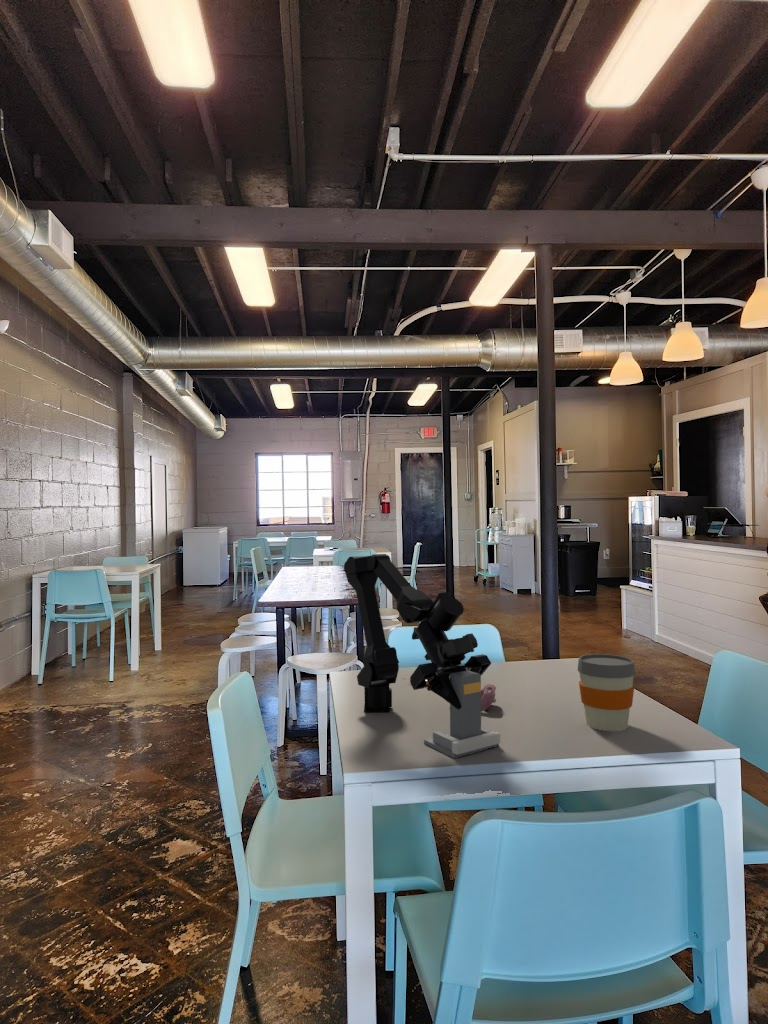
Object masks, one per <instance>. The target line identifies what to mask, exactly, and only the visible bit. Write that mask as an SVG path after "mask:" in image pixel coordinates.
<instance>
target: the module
mask: <svg viewBox="0 0 768 1024" xmlns="http://www.w3.org/2000/svg"><path fill="white" fill-rule="evenodd" d="M481 679H482V675H481V674H478V673H475V672H472V671H468V670H467V671H462V672H456V673H450V683H451V685H452V687H453V689H454V691H455V693H456V695H457V697H458V699H459V701H460V704H461V708H460V709H457V708H455V707H454V706H453V705H451V704H450V703H449V718H450V719H449V721H450V722H449V730H450V731H449V733H450V736H452V737H454V738H456V739H458V740H463V739H467V738H471V737H475V736H479V735H481V727H482V711H481V690H482V681H481Z"/></svg>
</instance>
